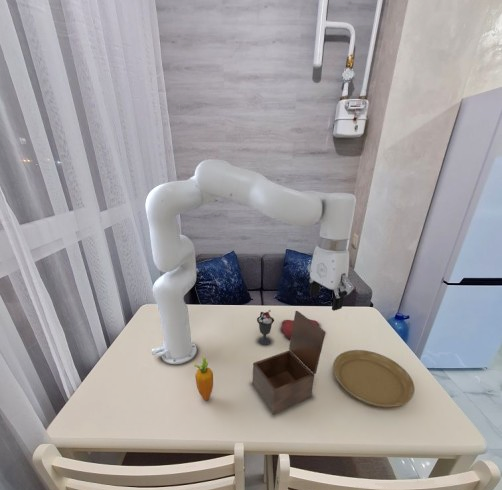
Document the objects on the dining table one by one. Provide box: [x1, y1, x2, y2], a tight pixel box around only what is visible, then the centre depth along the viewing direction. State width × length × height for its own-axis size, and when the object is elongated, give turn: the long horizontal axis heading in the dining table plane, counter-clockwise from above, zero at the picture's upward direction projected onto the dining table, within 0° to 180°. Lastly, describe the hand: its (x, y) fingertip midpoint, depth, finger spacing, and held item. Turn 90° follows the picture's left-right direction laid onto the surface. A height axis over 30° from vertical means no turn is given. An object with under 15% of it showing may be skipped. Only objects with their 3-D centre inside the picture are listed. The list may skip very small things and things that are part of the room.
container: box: [252, 349, 316, 415], centre depth 80 cm, size 14×13×9 cm
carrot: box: [193, 357, 214, 402], centre depth 75 cm, size 5×5×15 cm
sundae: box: [256, 309, 275, 346], centre depth 101 cm, size 7×7×15 cm
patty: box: [280, 318, 320, 341], centre depth 112 cm, size 18×14×2 cm
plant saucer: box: [332, 349, 416, 408], centre depth 85 cm, size 24×24×3 cm
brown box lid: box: [288, 310, 327, 375], centre depth 78 cm, size 14×13×1 cm
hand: (324, 301), depth 75 cm, fingers open, 9 cm apart
